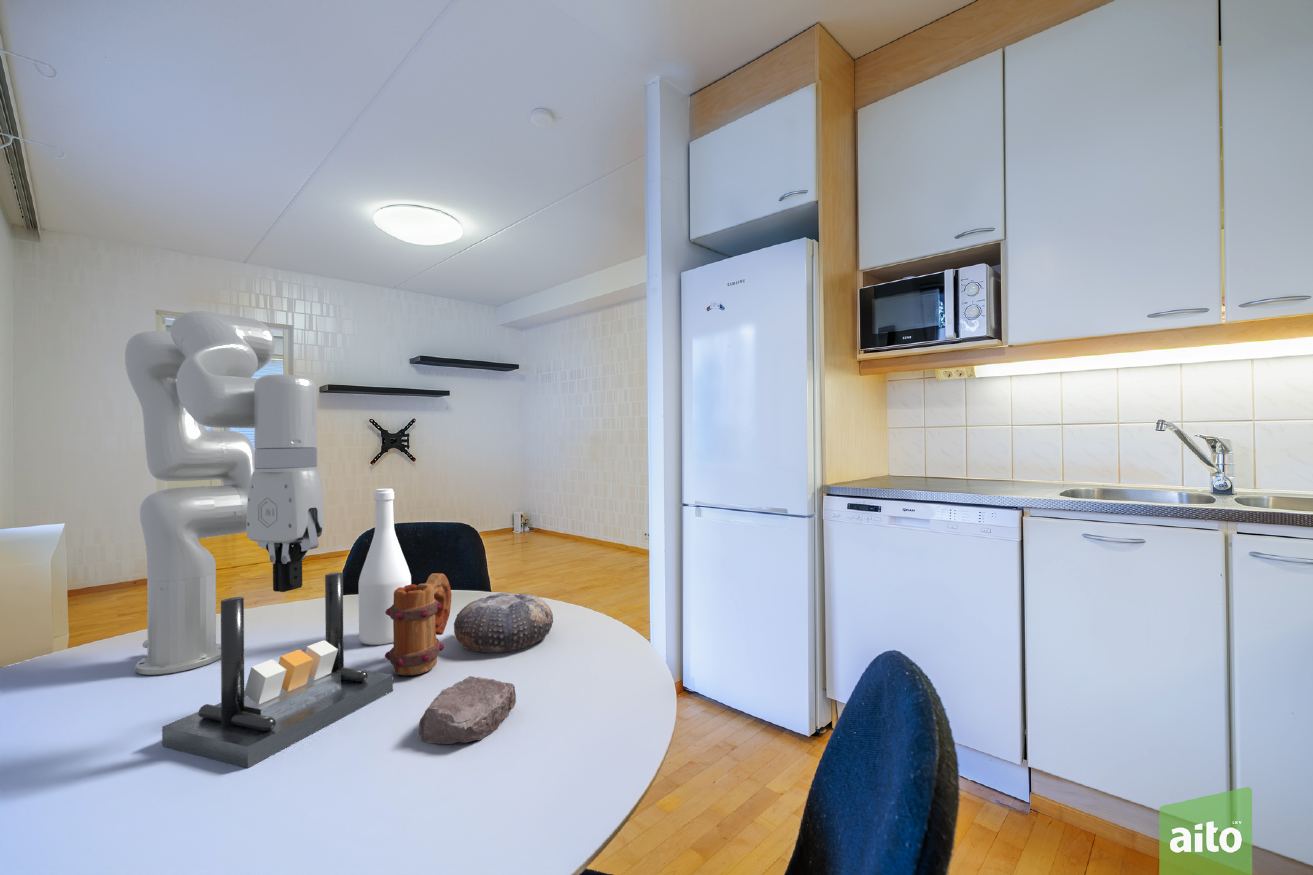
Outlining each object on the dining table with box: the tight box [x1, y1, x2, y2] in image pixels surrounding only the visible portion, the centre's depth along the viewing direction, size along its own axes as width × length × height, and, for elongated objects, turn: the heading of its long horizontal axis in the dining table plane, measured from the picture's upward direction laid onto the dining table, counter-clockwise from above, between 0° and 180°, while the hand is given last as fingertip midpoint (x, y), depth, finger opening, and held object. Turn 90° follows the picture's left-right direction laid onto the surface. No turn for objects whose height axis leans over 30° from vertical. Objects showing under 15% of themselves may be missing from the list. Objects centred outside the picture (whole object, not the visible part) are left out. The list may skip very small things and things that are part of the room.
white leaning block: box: [304, 639, 338, 680], centre depth 83 cm, size 3×3×4 cm
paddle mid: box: [278, 649, 313, 692], centre depth 79 cm, size 3×3×4 cm
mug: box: [384, 572, 453, 677], centre depth 97 cm, size 15×8×15 cm, turn 168°
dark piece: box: [161, 572, 394, 769], centre depth 79 cm, size 16×22×18 cm
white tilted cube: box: [244, 659, 286, 705], centre depth 75 cm, size 3×3×4 cm
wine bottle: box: [358, 488, 412, 646], centre depth 112 cm, size 10×10×30 cm
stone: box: [418, 675, 517, 745], centre depth 76 cm, size 12×9×5 cm
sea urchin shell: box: [453, 592, 554, 653], centre depth 109 cm, size 19×19×10 cm
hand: (287, 589), depth 80 cm, fingers closed
